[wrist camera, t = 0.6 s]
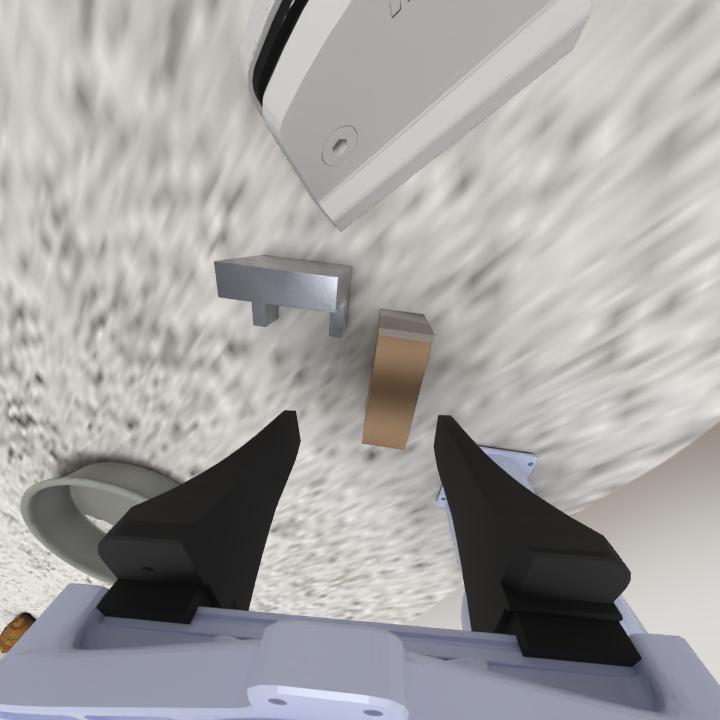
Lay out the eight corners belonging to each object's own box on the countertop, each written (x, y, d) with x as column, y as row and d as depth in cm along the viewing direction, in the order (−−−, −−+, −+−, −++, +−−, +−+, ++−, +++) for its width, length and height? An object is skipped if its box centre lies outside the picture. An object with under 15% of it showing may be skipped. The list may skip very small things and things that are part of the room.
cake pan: (25, 441, 33) (-26, 470, 29) (210, 460, 31) (183, 494, 27) (100, 552, 43) (71, 585, 39) (241, 571, 42) (225, 607, 38)
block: (401, 412, 25) (405, 450, 21) (365, 407, 25) (361, 444, 21) (423, 314, 21) (434, 335, 16) (380, 308, 21) (379, 327, 16)
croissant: (11, 606, 57) (-21, 637, 52) (43, 615, 57) (14, 647, 53) (19, 628, 62) (-9, 658, 58) (48, 636, 63) (22, 667, 59)
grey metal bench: (345, 327, 22) (331, 359, 16) (266, 316, 22) (224, 344, 16) (351, 266, 20) (337, 277, 14) (264, 255, 20) (213, 261, 14)
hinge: (337, 235, 19) (241, 146, 10) (305, 180, 19) (179, 39, 10) (580, 43, 14) (899, -563, 4) (536, -30, 14) (756, -777, 4)
